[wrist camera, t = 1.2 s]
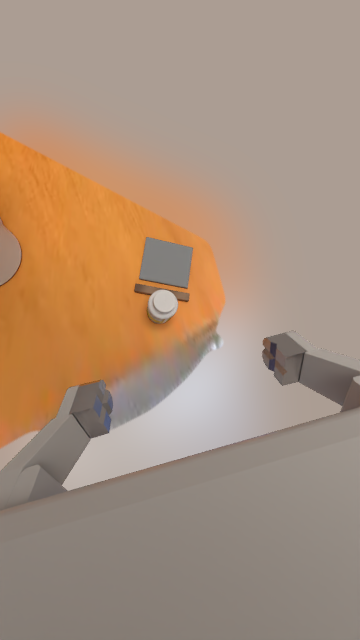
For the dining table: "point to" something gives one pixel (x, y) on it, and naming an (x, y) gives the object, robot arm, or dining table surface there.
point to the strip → (151, 290)
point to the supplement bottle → (162, 306)
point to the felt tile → (166, 263)
